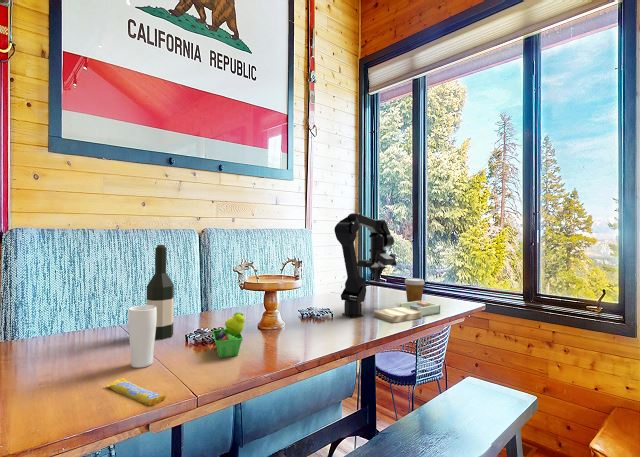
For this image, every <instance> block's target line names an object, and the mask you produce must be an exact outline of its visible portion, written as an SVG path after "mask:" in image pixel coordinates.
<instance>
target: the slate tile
mask: <svg viewBox="0 0 640 457" xmlns="http://www.w3.org/2000/svg"><path fill="white" fill-rule="evenodd" d="M421 307H424V306H420V305H410V309H412V310H416V311H418V308H421Z"/></svg>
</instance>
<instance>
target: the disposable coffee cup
mask: <svg viewBox="0 0 640 457" xmlns="http://www.w3.org/2000/svg"><path fill="white" fill-rule="evenodd" d="M425 283H426V282H425V280H424V279H422V278H416V277H409V278H408V277H407V278H405V279H404V284H405V292H406V293H405V294H406V301H407V302H414V301H423V300H422V299H423V292H424V285H425Z"/></svg>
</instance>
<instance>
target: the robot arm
mask: <svg viewBox="0 0 640 457" xmlns="http://www.w3.org/2000/svg"><path fill="white" fill-rule="evenodd" d="M360 226H361V227H364V228H367V230H368V231H369V232H370V233H371V234H369V235H368V237H369V238H370V240H371V241H370V242H371V243H370V249H369V250H368V252H370V258H368V259H358V261H357V254H356V249H355V241H356V240H357V239H356V238H357V232H358V231H359V230H360V228H361V227H360ZM334 235H335V238H336V239H337V241H338V243H340V245H341V248H342V253H343V254H342V255H343V259H344V266H345V271H346V280H345V283H344V289H343V291H342V292H341V294H340V299H341V301H344V306H343V307H344V312H343V313H341V315H343V316H345V317H347V318H349V319H352V318H360V317H363V316H364V315H363V314H362V303H363V302H365V298H366V294H367V284H366V279H365V277H364V276H363V277H361V275H360V271H359V267H361V268H368V269H369V270H370V272H371V275H372V277H373V279H374V281H375V283H379V281H380V278H381V275H382V273H383V271H384V270H385V269H387V268H388V266H391V267H393V266H397V260H396V254H395V253H390V254H388V253H387V250H386V249H385V248H388V247H389V248H390V247H392V246H393V245H394V243H395V239H394V236H392V235H391V232H390V228H389V225H388V224H387V221H386V220H385V219H373V218H371V217H368V216H366V215H363V214H362V213H360V212H358V213H357V212H353V213H349V214H348V215H347V216H346V217H344V218H342V219H341V220H339V222H337V223H336V225H335V226H334Z"/></svg>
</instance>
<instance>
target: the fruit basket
mask: <svg viewBox="0 0 640 457" xmlns="http://www.w3.org/2000/svg"><path fill="white" fill-rule="evenodd" d="M245 320H246V318H245V317H244V313H242V312H241V311H238V312H235V313H234V314H233V316H231V317H230V318H228V319H226V321H225V322H224V326H225V328H222V329H215V330H212V335H213V340H214V343H215V347H216V350H217V354H218V357H219V358H227V357H235V356H239V352H240V349H241V344H242V341H243V339H244V338H243V336H242V332H243V330H244V327H245V325H244V324H245Z"/></svg>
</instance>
